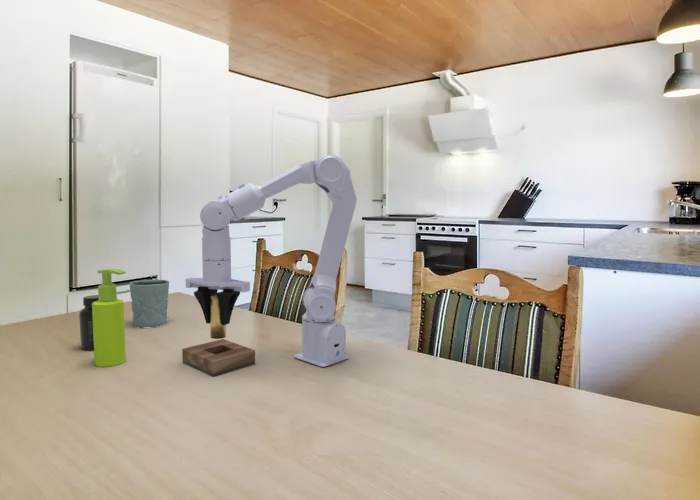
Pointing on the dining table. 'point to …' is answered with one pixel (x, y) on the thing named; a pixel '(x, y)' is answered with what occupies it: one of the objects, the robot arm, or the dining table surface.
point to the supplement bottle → (87, 323)
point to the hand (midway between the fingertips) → (217, 323)
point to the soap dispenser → (108, 323)
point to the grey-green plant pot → (149, 302)
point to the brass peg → (216, 319)
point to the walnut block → (218, 357)
